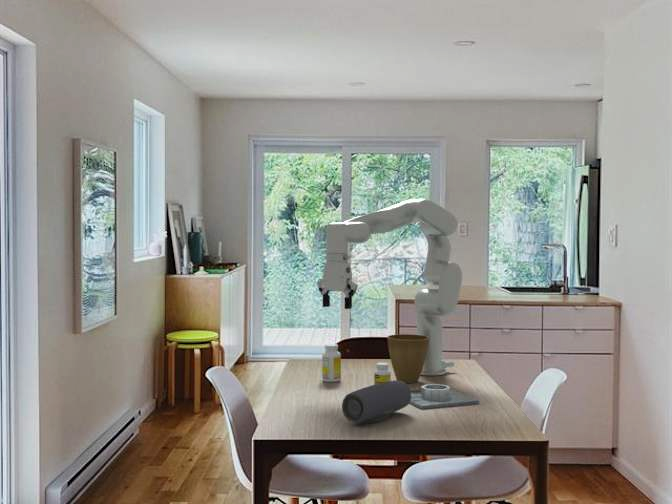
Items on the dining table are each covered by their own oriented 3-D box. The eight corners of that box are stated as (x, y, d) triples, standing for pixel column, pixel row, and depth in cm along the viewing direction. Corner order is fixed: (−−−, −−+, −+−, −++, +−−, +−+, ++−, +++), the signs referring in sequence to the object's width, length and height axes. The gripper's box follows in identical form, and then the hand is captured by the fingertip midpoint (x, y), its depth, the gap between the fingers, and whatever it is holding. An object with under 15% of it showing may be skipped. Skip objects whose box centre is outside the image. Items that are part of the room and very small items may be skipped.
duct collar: (448, 390, 263) (448, 378, 263) (479, 403, 244) (479, 390, 244) (394, 395, 256) (394, 383, 256) (421, 409, 237) (421, 396, 237)
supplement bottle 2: (371, 393, 259) (371, 364, 258) (378, 390, 264) (378, 361, 263) (386, 395, 256) (386, 365, 256) (393, 392, 261) (393, 362, 261)
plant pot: (415, 387, 268) (415, 341, 268) (379, 382, 277) (379, 337, 277) (436, 380, 280) (437, 335, 279) (401, 375, 289) (401, 332, 288)
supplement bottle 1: (341, 378, 283) (341, 343, 283) (340, 382, 277) (340, 346, 276) (323, 378, 284) (323, 343, 284) (321, 382, 277) (321, 346, 277)
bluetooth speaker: (387, 409, 237) (387, 376, 237) (412, 413, 232) (412, 380, 231) (340, 424, 220) (339, 389, 220) (366, 429, 214) (366, 393, 214)
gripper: (363, 258, 268) (363, 308, 268) (324, 257, 278) (324, 305, 279) (350, 259, 262) (350, 310, 262) (310, 258, 273) (311, 307, 273)
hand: (337, 307), depth 271 cm, fingers open, 9 cm apart
